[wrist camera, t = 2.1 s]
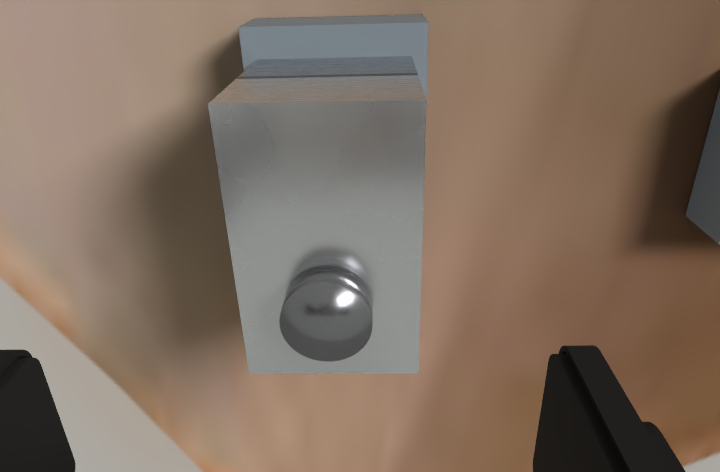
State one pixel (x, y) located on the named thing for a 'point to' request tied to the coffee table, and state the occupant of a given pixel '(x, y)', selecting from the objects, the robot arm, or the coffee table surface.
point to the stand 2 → (708, 182)
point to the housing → (325, 211)
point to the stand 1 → (337, 38)
